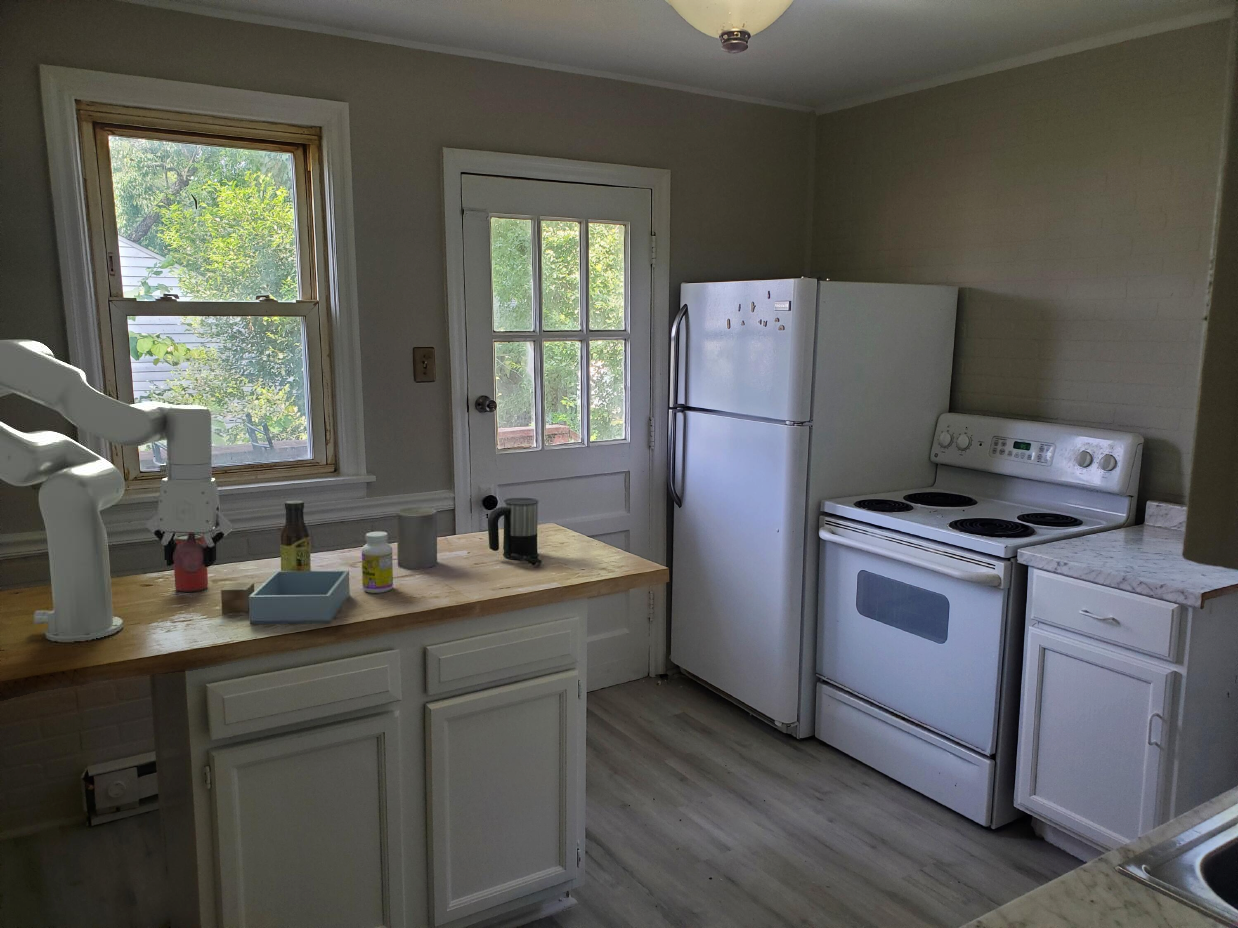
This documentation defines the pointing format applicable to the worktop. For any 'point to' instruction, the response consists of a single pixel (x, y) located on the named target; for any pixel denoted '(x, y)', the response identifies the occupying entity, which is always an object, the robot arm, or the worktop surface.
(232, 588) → the walnut cube
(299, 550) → the sauce bottle
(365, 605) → the worktop surface
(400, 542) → the pillar candle
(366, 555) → the supplement bottle
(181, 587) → the beer can
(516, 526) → the milk frother
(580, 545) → the worktop surface
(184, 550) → the vegetable
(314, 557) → the worktop surface
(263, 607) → the tote
